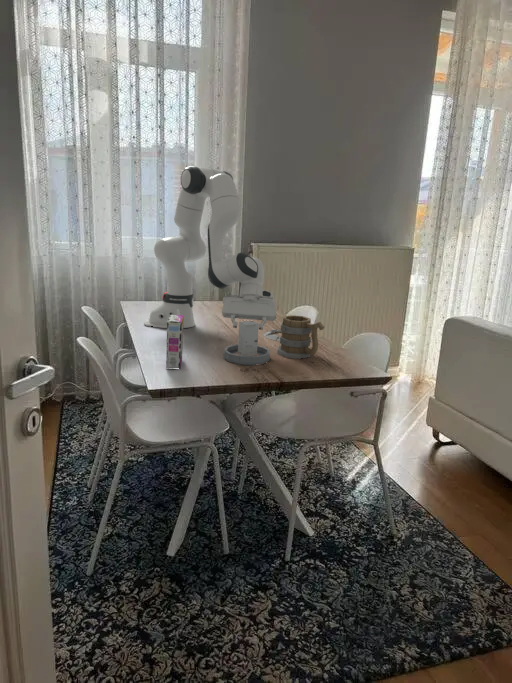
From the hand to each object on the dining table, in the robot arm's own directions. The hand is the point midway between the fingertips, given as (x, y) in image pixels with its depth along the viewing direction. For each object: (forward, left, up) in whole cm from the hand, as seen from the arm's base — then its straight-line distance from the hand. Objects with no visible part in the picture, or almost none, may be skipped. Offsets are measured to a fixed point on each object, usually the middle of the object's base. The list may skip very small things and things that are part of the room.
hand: (247, 327), depth 188 cm
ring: (+15, +34, -12) cm, 39 cm away
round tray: (0, -2, -11) cm, 11 cm away
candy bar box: (-24, -15, -11) cm, 30 cm away
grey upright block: (0, -2, -10) cm, 10 cm away
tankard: (+20, +5, -11) cm, 24 cm away
